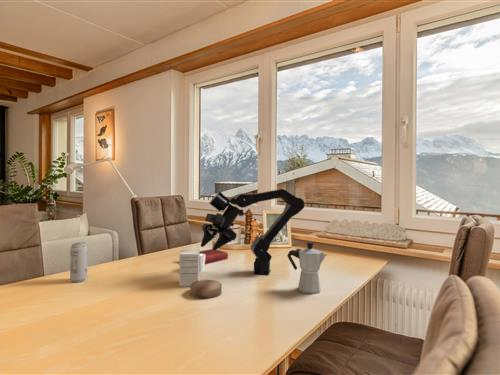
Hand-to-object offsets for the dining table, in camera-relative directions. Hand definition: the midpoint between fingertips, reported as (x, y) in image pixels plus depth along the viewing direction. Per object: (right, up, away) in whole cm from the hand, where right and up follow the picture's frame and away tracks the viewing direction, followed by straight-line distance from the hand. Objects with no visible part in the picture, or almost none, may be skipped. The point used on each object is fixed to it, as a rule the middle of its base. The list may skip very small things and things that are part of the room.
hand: (207, 248), depth 127 cm
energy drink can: (-51, -13, -2) cm, 53 cm away
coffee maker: (+39, -14, -10) cm, 42 cm away
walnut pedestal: (+2, -13, -15) cm, 20 cm away
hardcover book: (-5, -13, +31) cm, 34 cm away
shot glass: (-6, -13, +14) cm, 20 cm away
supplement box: (-6, -13, -4) cm, 15 cm away
